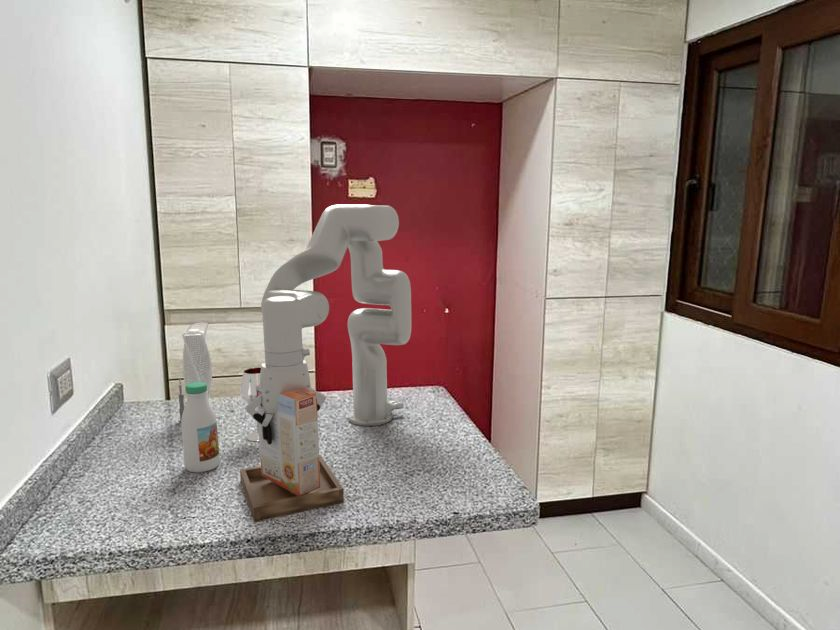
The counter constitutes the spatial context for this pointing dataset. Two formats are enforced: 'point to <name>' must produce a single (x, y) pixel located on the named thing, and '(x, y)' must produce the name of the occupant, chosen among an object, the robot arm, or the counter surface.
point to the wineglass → (250, 393)
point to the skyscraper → (195, 362)
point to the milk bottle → (199, 430)
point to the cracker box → (292, 443)
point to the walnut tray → (287, 494)
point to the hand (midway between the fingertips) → (288, 438)
